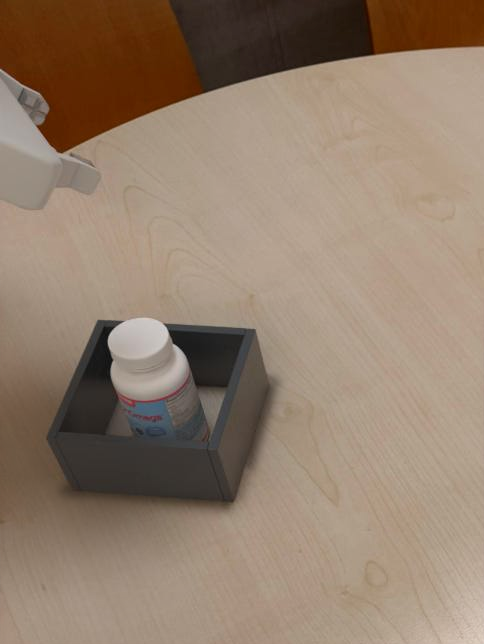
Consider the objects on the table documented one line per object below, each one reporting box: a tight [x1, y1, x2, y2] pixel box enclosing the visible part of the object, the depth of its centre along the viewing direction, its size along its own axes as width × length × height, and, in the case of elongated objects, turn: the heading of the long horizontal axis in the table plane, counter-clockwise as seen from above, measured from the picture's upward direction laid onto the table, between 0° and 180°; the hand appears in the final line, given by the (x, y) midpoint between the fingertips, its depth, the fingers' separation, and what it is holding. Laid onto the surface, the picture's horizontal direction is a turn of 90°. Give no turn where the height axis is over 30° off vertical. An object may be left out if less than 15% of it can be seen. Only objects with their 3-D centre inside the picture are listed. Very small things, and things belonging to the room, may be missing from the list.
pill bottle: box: [108, 317, 210, 442], centre depth 86 cm, size 6×6×11 cm
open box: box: [45, 319, 270, 503], centre depth 88 cm, size 14×14×8 cm
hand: (67, 144), depth 73 cm, fingers open, 8 cm apart
